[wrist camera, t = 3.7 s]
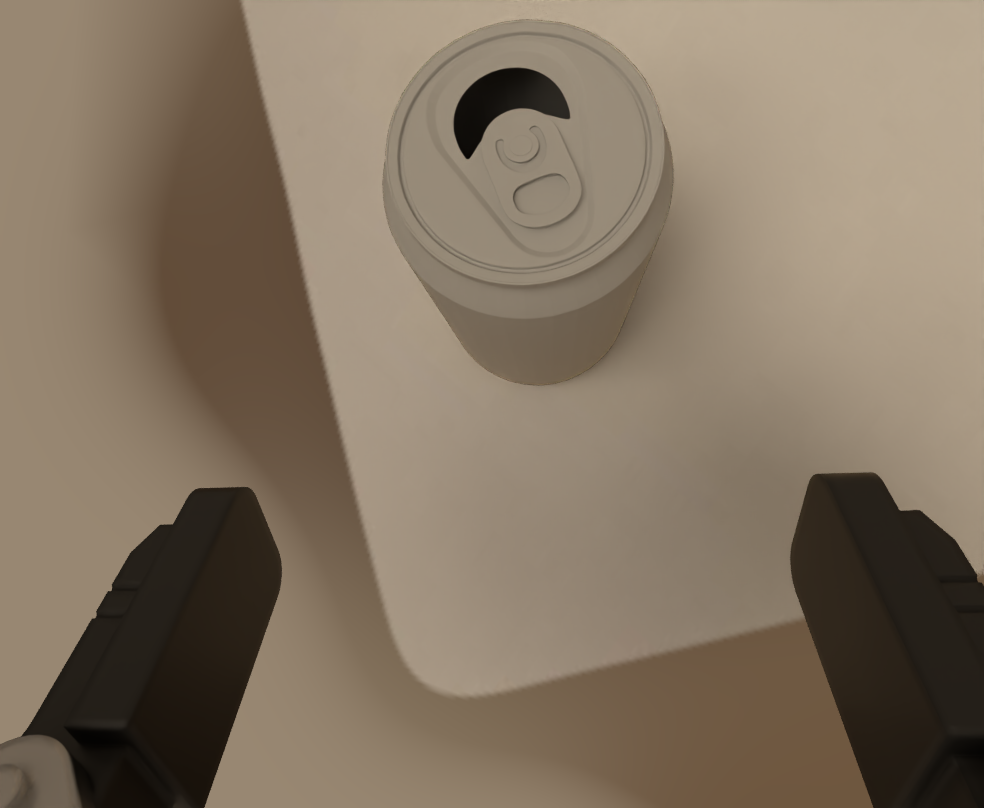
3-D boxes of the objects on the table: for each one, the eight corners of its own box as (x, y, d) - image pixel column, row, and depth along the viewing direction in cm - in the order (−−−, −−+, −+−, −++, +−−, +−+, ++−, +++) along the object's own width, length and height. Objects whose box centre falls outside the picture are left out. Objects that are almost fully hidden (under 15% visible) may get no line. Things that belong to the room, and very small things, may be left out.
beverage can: (586, 196, 26) (612, -51, 14) (652, 352, 25) (738, 229, 13) (429, 258, 26) (323, 67, 14) (487, 415, 25) (427, 350, 13)
